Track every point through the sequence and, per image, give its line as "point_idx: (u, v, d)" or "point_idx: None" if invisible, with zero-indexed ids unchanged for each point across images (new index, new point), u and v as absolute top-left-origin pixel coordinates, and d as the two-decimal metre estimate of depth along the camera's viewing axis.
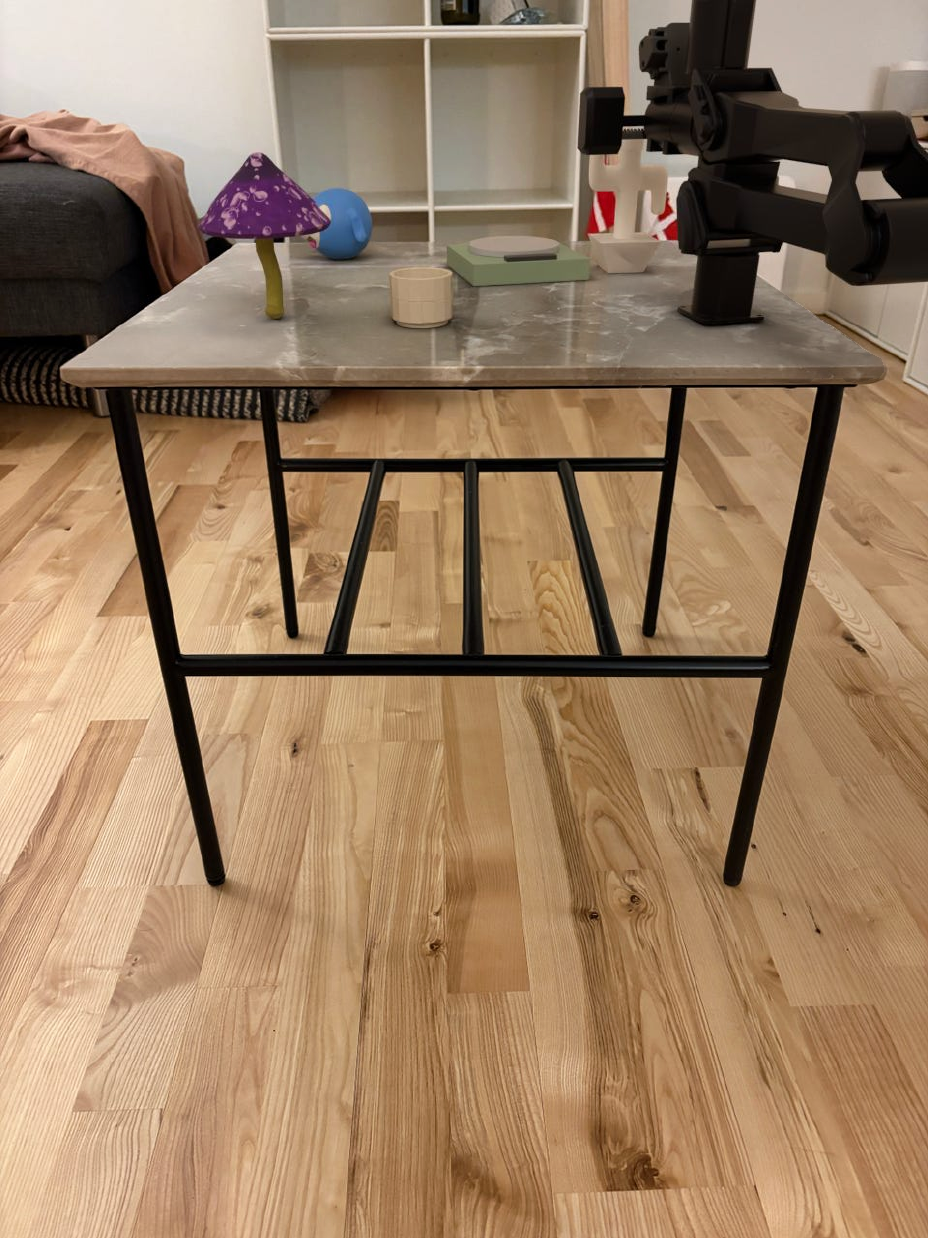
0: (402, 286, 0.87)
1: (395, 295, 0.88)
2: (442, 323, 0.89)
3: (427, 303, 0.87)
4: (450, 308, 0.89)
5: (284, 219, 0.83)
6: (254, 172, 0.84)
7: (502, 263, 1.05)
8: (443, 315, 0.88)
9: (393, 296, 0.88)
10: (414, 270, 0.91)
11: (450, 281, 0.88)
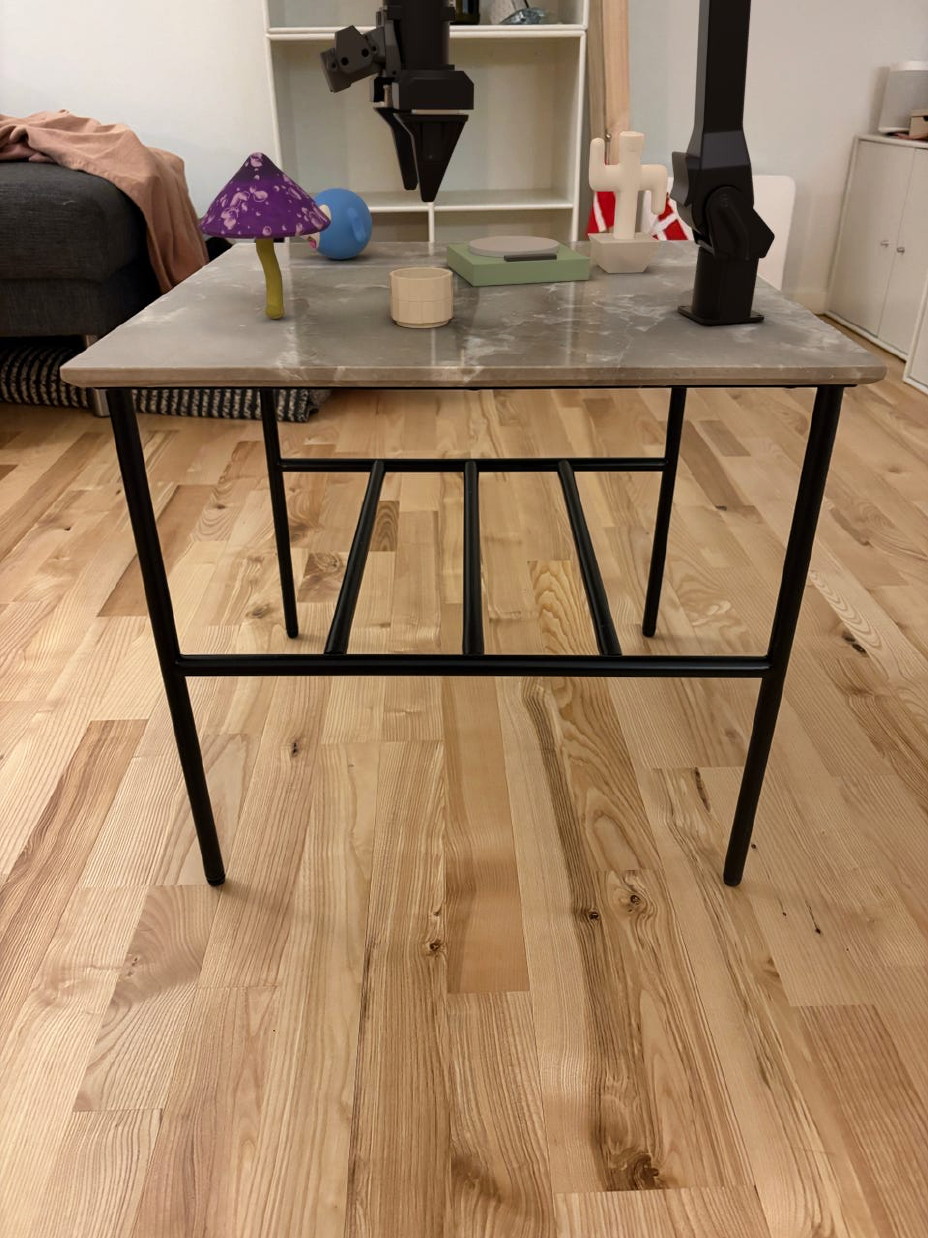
0: (402, 286, 0.87)
1: (395, 295, 0.88)
2: (442, 323, 0.89)
3: (427, 303, 0.87)
4: (450, 308, 0.89)
5: (284, 219, 0.83)
6: (254, 172, 0.84)
7: (502, 263, 1.05)
8: (443, 315, 0.88)
9: (393, 296, 0.88)
10: (414, 270, 0.91)
11: (450, 281, 0.88)
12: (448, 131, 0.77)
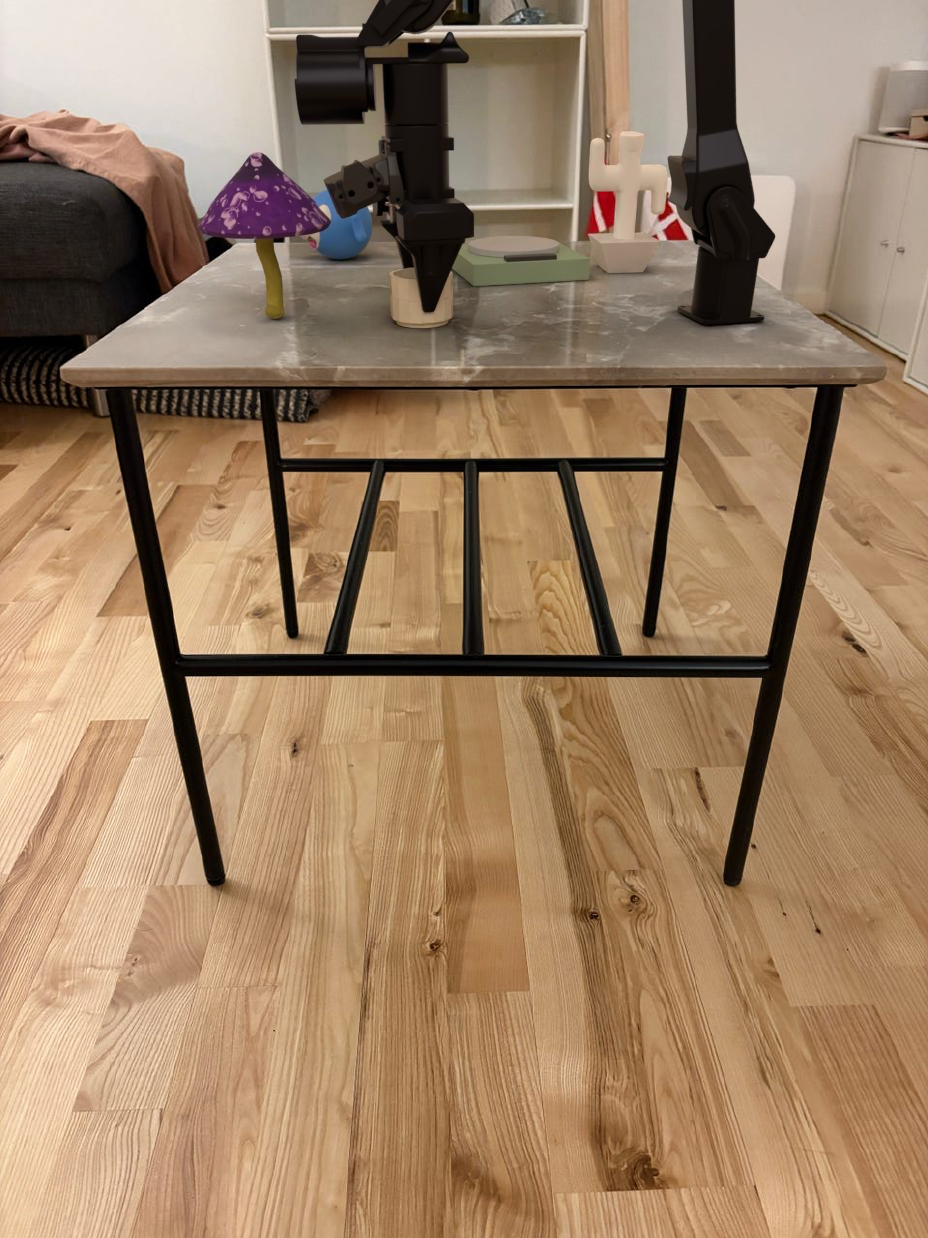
0: (402, 286, 0.87)
1: (395, 295, 0.88)
2: (442, 323, 0.89)
3: None
4: (450, 308, 0.89)
5: (284, 219, 0.83)
6: (254, 172, 0.84)
7: (502, 263, 1.05)
8: (443, 315, 0.88)
9: (393, 296, 0.88)
10: (414, 270, 0.91)
11: (450, 281, 0.88)
12: (446, 251, 0.83)
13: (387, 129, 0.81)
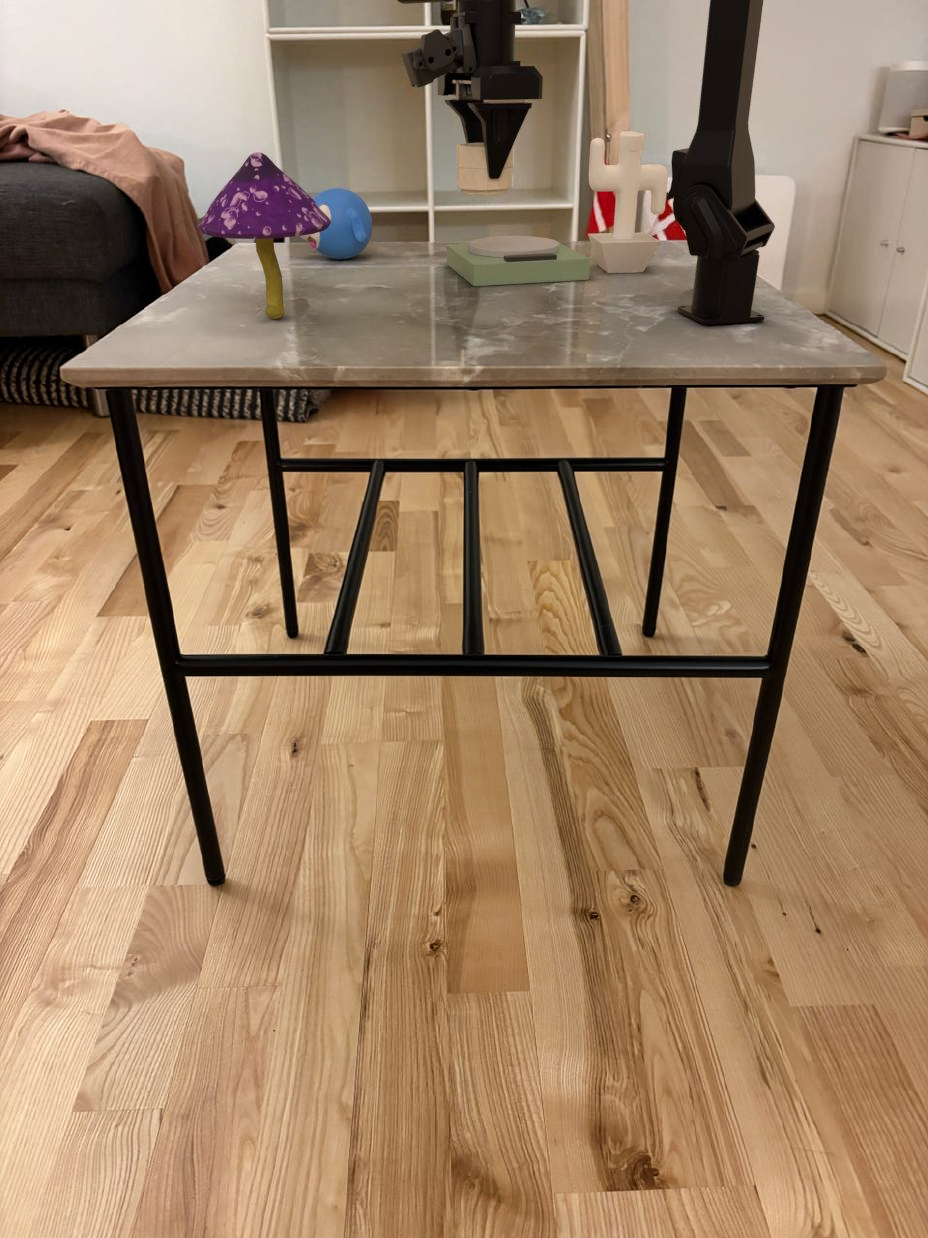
0: (470, 154, 0.95)
1: (462, 164, 0.96)
2: (504, 191, 0.98)
3: None
4: (512, 177, 0.98)
5: (284, 219, 0.83)
6: (254, 172, 0.84)
7: (502, 263, 1.05)
8: (506, 183, 0.97)
9: (460, 165, 0.97)
10: (477, 145, 0.99)
11: (512, 151, 0.97)
12: (514, 117, 0.92)
13: (461, 4, 0.90)
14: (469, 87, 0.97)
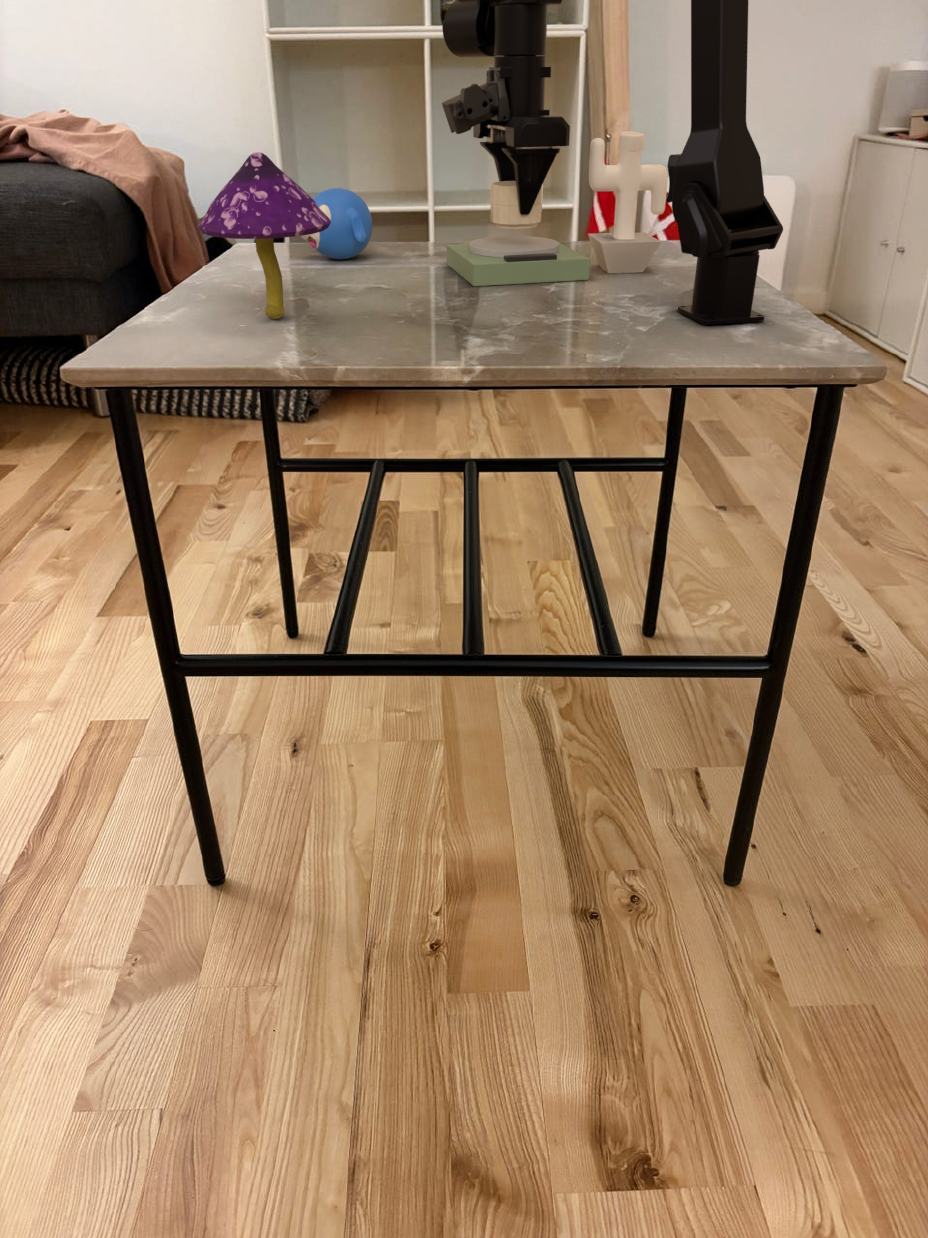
0: (503, 192, 1.05)
1: (496, 201, 1.07)
2: (534, 225, 1.08)
3: None
4: (540, 213, 1.08)
5: (284, 219, 0.83)
6: (254, 172, 0.84)
7: (502, 263, 1.05)
8: (535, 218, 1.07)
9: (494, 202, 1.07)
10: (509, 183, 1.09)
11: (541, 189, 1.07)
12: (543, 160, 1.02)
13: (497, 60, 1.00)
14: (502, 131, 1.08)
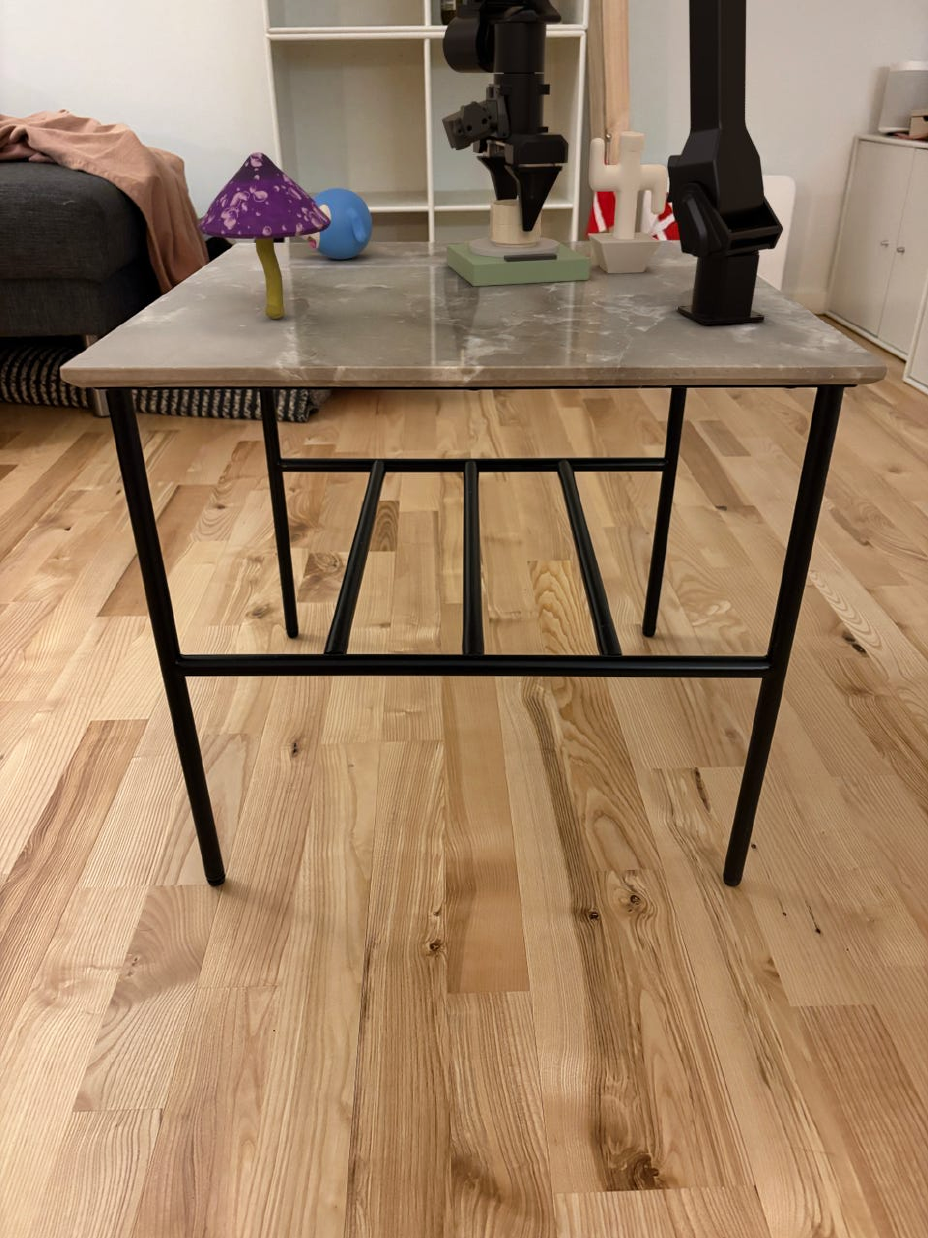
0: (502, 212, 1.06)
1: (496, 220, 1.08)
2: (533, 244, 1.09)
3: None
4: (539, 232, 1.09)
5: (284, 219, 0.83)
6: (254, 172, 0.84)
7: (502, 263, 1.05)
8: (534, 237, 1.08)
9: (494, 221, 1.08)
10: (508, 202, 1.10)
11: None
12: (546, 178, 1.02)
13: (496, 77, 1.01)
14: (498, 146, 1.10)
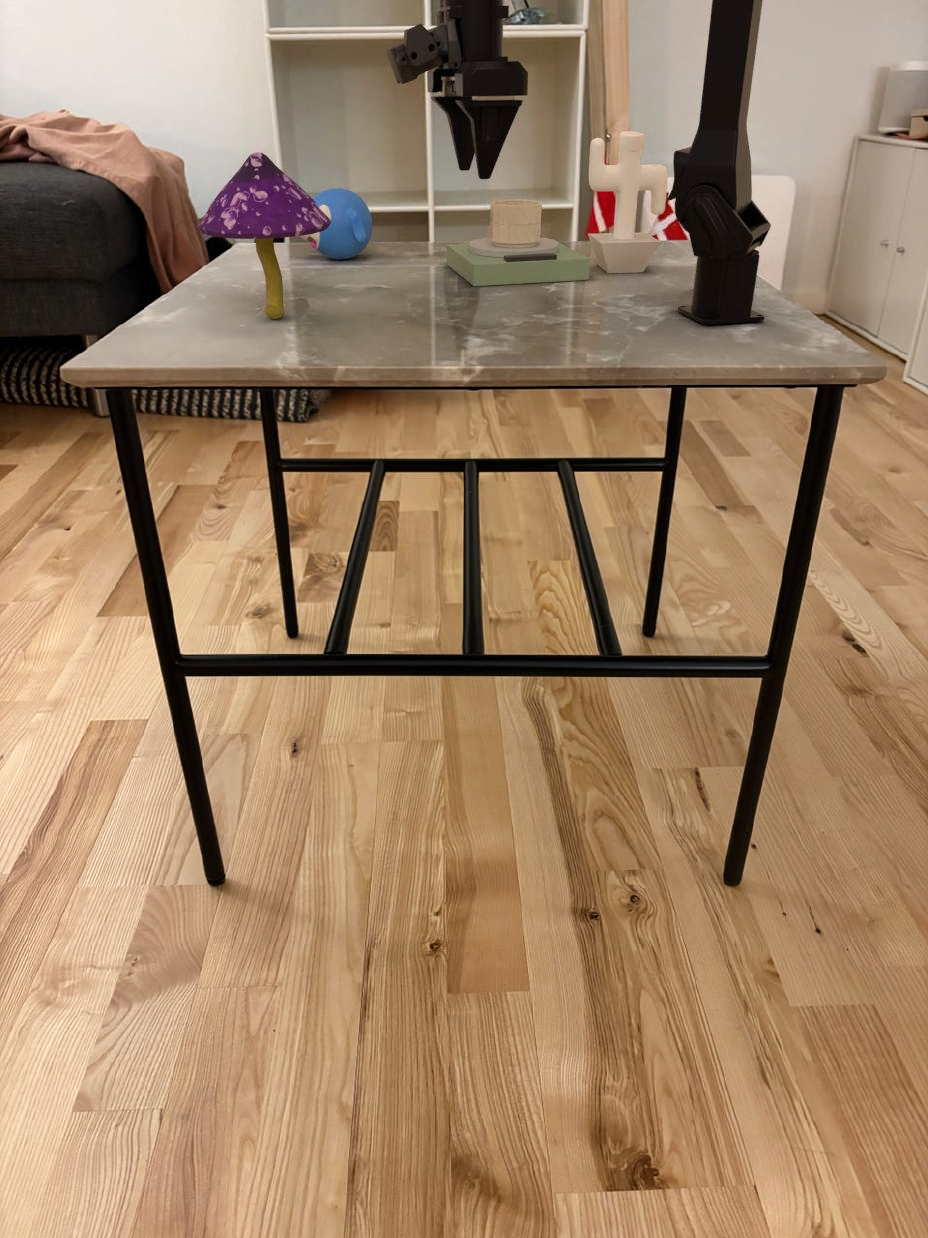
0: (502, 212, 1.06)
1: (496, 220, 1.08)
2: (533, 244, 1.09)
3: (522, 226, 1.07)
4: (539, 232, 1.09)
5: (284, 219, 0.83)
6: (254, 172, 0.84)
7: (502, 263, 1.05)
8: (534, 237, 1.08)
9: (494, 221, 1.08)
10: (508, 202, 1.10)
11: (540, 209, 1.08)
12: (504, 115, 0.88)
13: None
14: (455, 83, 0.96)
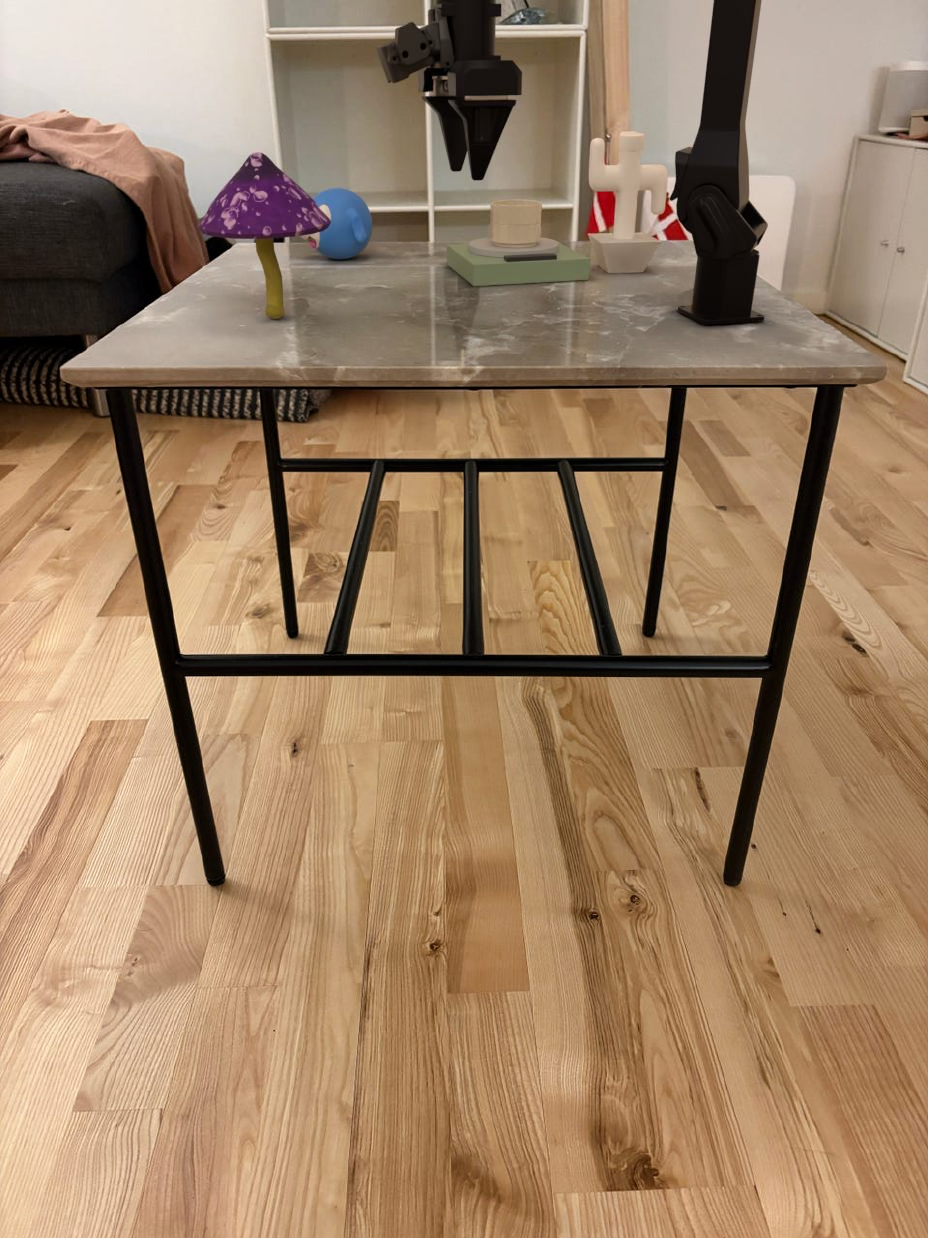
0: (502, 212, 1.06)
1: (496, 220, 1.08)
2: (533, 244, 1.09)
3: (522, 226, 1.07)
4: (539, 232, 1.09)
5: (284, 219, 0.83)
6: (254, 172, 0.84)
7: (502, 263, 1.05)
8: (534, 237, 1.08)
9: (494, 221, 1.08)
10: (508, 202, 1.10)
11: (540, 209, 1.08)
12: (497, 115, 0.86)
13: None
14: (446, 83, 0.94)
